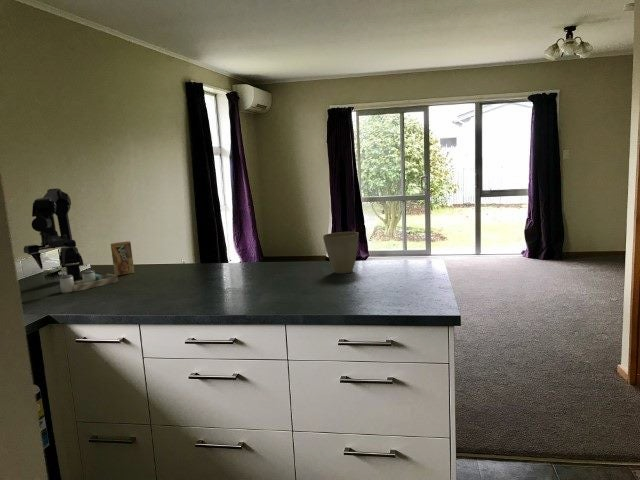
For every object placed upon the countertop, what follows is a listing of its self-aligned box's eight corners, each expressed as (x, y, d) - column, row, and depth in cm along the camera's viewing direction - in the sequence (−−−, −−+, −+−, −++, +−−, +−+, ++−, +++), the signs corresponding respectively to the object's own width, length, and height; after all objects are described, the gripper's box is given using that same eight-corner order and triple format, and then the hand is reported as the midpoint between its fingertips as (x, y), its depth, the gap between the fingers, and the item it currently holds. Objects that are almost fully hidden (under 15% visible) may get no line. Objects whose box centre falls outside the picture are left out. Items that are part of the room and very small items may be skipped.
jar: (59, 291, 220) (57, 276, 219) (71, 289, 224) (69, 274, 223) (64, 293, 217) (62, 277, 216) (77, 290, 221) (74, 275, 220)
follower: (100, 284, 227) (98, 275, 227) (93, 283, 231) (92, 274, 231) (102, 284, 228) (101, 275, 227) (96, 282, 232) (95, 273, 232)
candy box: (133, 271, 254) (129, 240, 252) (134, 273, 250) (130, 241, 248) (114, 274, 250) (110, 243, 248) (115, 275, 246) (110, 244, 244)
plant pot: (362, 267, 224) (360, 230, 222) (359, 275, 210) (356, 236, 207) (328, 268, 227) (326, 232, 225) (322, 276, 213) (320, 237, 210)
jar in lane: (81, 286, 227) (79, 272, 226) (93, 284, 231) (91, 269, 230) (86, 288, 224) (84, 273, 223) (98, 285, 227) (96, 270, 226)
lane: (75, 291, 218) (74, 284, 218) (66, 289, 224) (65, 282, 224) (118, 281, 232) (117, 275, 231) (108, 279, 238) (107, 273, 237)
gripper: (31, 233, 201) (37, 272, 203) (79, 226, 215) (84, 263, 217) (20, 232, 208) (26, 270, 210) (67, 226, 222) (72, 262, 224)
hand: (53, 266), depth 215 cm, fingers open, 9 cm apart
